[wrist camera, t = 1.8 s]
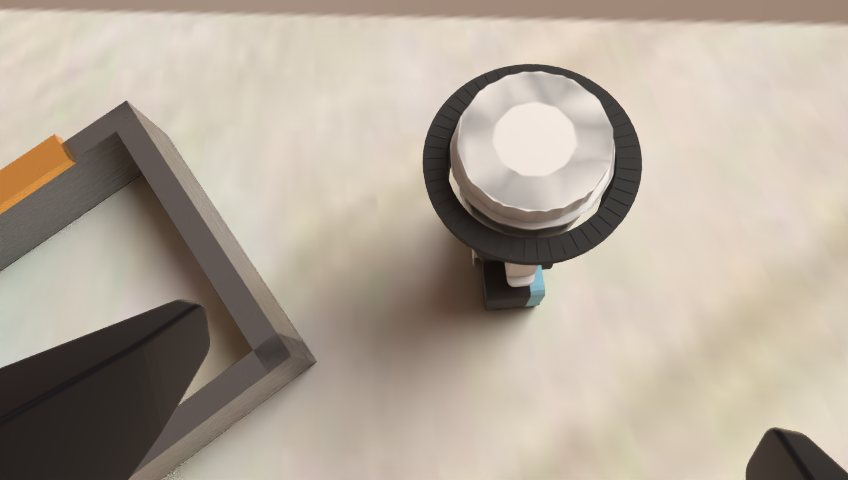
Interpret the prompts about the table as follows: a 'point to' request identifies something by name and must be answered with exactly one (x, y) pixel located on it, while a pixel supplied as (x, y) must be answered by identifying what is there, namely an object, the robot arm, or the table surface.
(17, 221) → the grey divided tray
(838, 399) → the table surface
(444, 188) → the push button
